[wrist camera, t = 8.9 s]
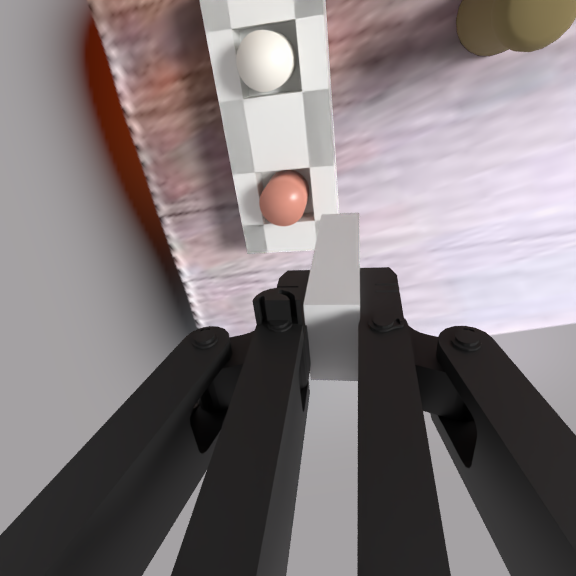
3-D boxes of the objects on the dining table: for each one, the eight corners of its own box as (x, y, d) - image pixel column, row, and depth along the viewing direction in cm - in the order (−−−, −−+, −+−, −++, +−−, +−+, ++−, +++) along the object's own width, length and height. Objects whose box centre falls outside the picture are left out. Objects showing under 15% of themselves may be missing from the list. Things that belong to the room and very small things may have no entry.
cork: (464, 68, 37) (502, 76, 27) (448, -6, 34) (483, -26, 25) (539, 35, 35) (606, 32, 25) (527, -46, 32) (597, -84, 23)
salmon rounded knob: (264, 171, 42) (255, 183, 38) (307, 167, 41) (302, 179, 37) (270, 212, 44) (263, 227, 40) (311, 209, 43) (307, 224, 40)
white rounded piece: (244, 35, 36) (231, 34, 32) (293, 27, 35) (285, 25, 32) (252, 90, 38) (241, 95, 35) (298, 84, 37) (292, 88, 34)
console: (211, -10, 36) (196, -15, 33) (323, -30, 35) (320, -38, 31) (255, 239, 48) (247, 253, 45) (340, 234, 46) (339, 249, 43)
